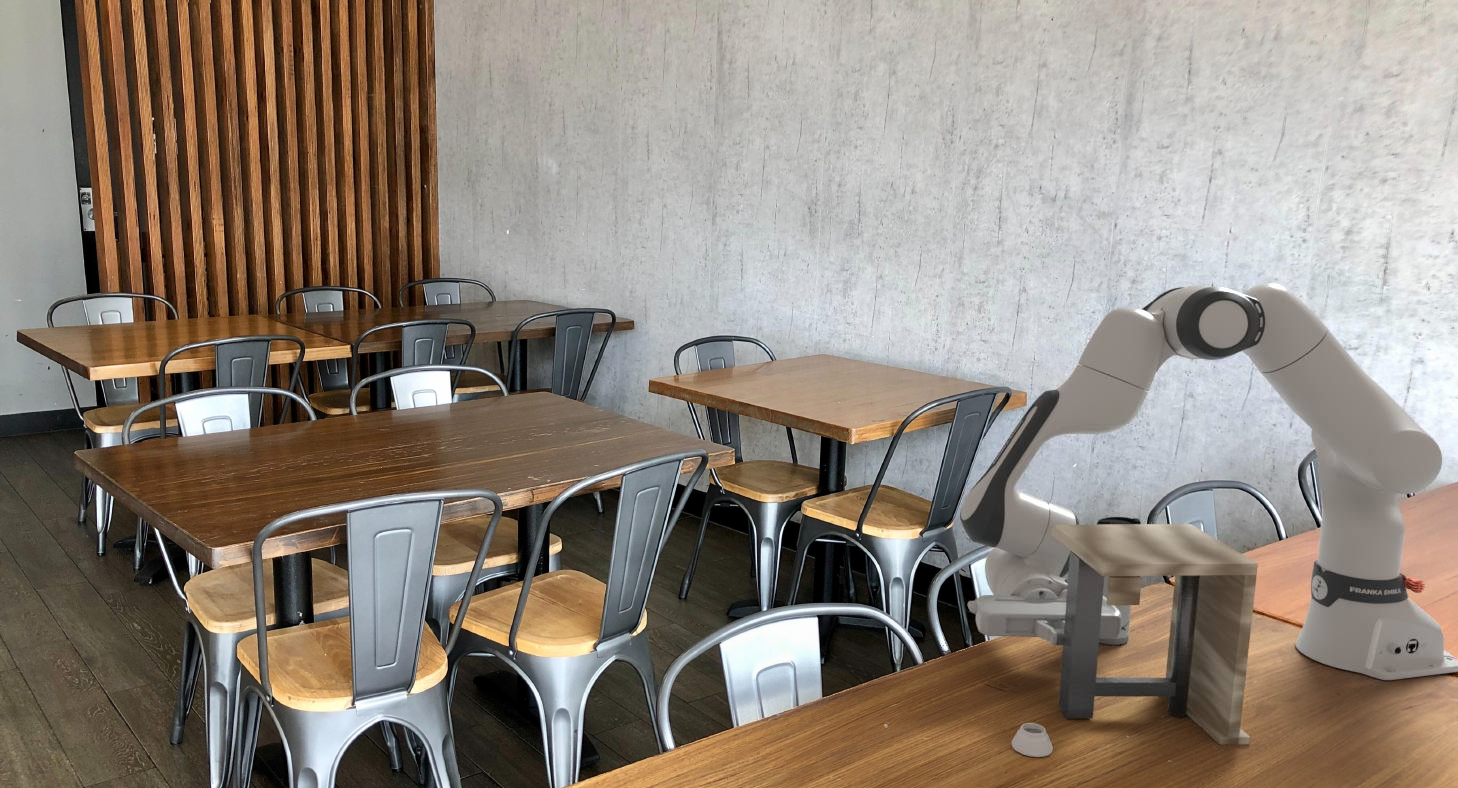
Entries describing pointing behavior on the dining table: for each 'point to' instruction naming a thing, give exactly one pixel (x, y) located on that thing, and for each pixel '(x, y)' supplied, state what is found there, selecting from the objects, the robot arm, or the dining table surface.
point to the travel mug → (1123, 609)
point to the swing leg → (1084, 645)
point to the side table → (1218, 606)
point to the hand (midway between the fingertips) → (1063, 640)
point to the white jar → (1032, 740)
